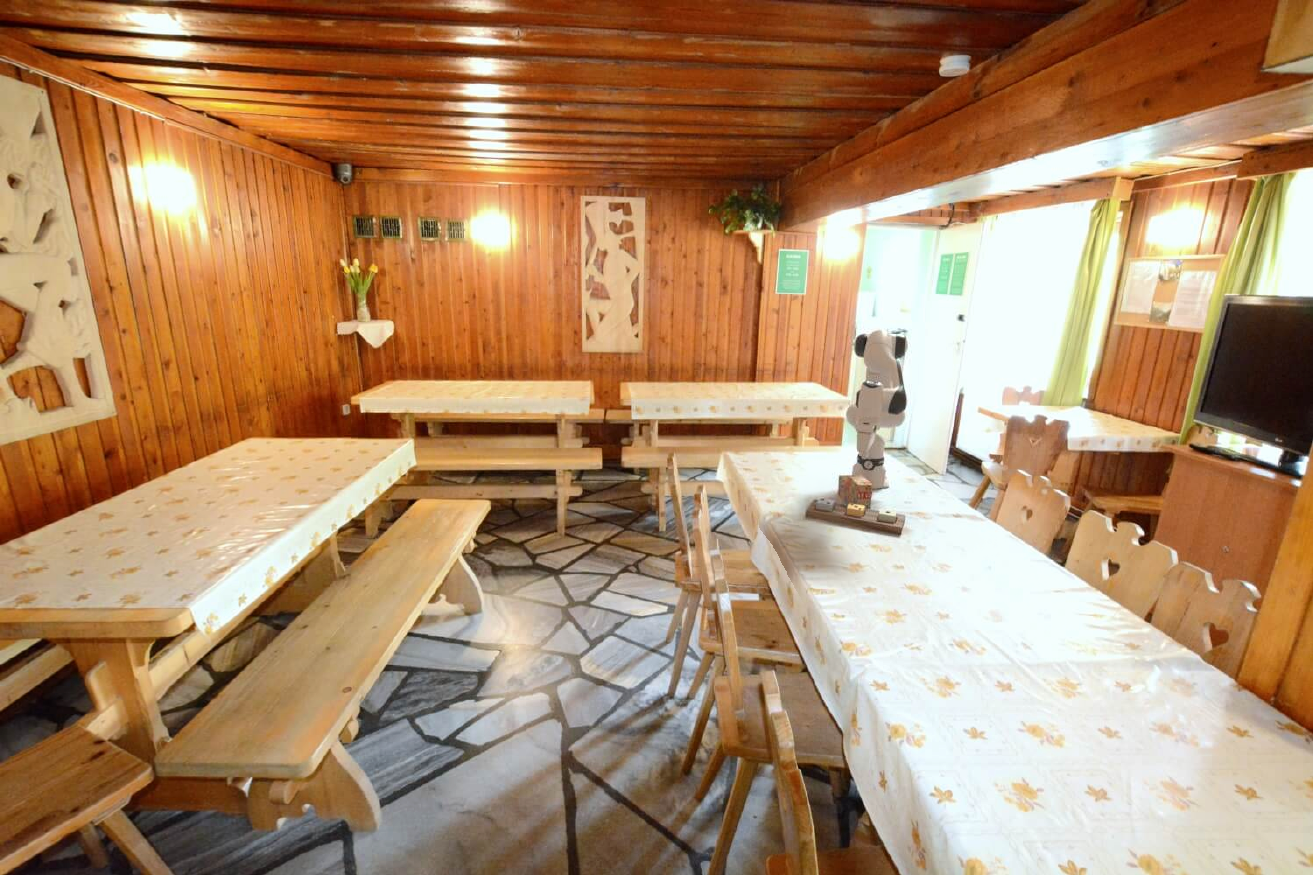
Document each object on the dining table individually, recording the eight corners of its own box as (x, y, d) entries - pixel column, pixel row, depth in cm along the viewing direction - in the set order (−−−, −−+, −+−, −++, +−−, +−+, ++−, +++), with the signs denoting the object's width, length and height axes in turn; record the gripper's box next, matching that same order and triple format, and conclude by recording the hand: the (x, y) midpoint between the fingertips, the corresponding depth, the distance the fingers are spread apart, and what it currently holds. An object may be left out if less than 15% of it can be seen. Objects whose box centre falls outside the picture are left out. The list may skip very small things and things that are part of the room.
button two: (818, 507, 242) (819, 497, 241) (833, 509, 239) (834, 500, 238) (815, 511, 237) (816, 502, 236) (830, 514, 234) (831, 504, 233)
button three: (848, 512, 237) (849, 502, 236) (864, 515, 234) (865, 505, 233) (846, 517, 231) (847, 507, 230) (861, 520, 229) (862, 510, 228)
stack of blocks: (837, 494, 262) (839, 468, 259) (850, 494, 262) (853, 468, 259) (855, 512, 241) (858, 484, 238) (870, 512, 242) (873, 484, 238)
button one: (879, 517, 231) (880, 508, 230) (895, 520, 229) (897, 510, 228) (877, 523, 226) (878, 512, 225) (894, 526, 223) (895, 515, 222)
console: (813, 506, 247) (814, 499, 246) (904, 522, 231) (905, 515, 230) (805, 517, 235) (806, 510, 234) (901, 534, 219) (901, 527, 218)
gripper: (863, 417, 233) (860, 451, 236) (855, 427, 215) (851, 463, 219) (880, 419, 230) (876, 453, 234) (873, 429, 213) (869, 465, 216)
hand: (864, 458), depth 226 cm, fingers closed
